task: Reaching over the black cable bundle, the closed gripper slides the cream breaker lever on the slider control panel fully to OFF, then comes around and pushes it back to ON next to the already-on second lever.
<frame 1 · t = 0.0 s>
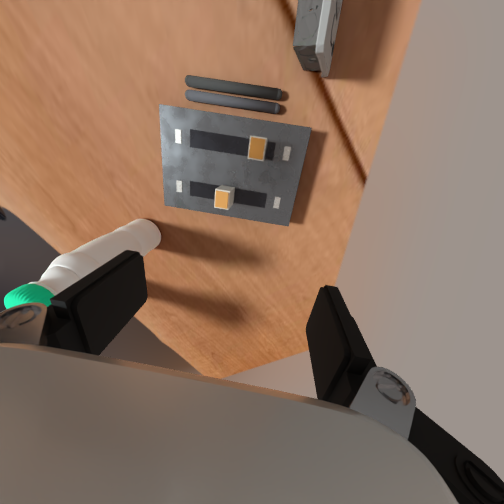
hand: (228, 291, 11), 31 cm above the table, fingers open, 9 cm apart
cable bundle: (233, 95, 32), on the table
slider control panel: (233, 169, 37), on the table
electrical switch: (315, 39, 29), on the table
water bottle: (147, 232, 45), on the table
breaker lever: (224, 197, 34), point 6 cm above the table, slide at 0.0 cm
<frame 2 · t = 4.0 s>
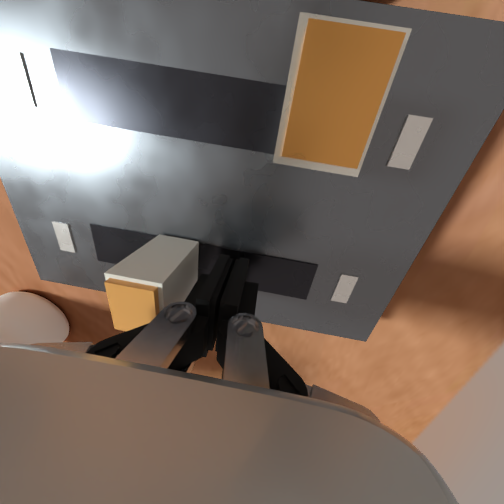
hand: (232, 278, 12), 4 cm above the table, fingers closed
slider control panel: (218, 190, 14), on the table
water bottle: (42, 313, 21), on the table
breaker lever: (160, 280, 10), point 6 cm above the table, slide at -1.4 cm, touching gripper
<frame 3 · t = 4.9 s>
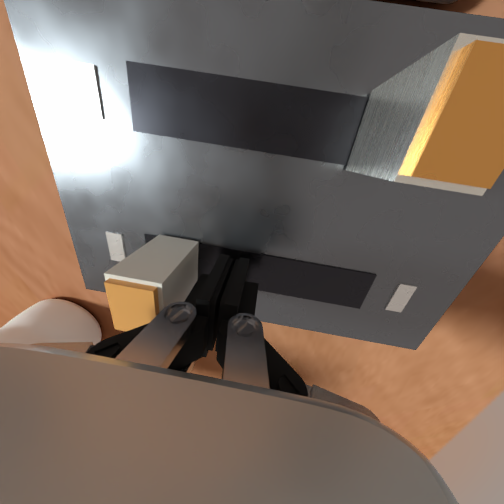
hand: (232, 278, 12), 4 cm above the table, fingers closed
slider control panel: (268, 198, 13), on the table
water bottle: (74, 320, 21), on the table
breaker lever: (160, 280, 10), point 6 cm above the table, slide at -4.8 cm, touching gripper
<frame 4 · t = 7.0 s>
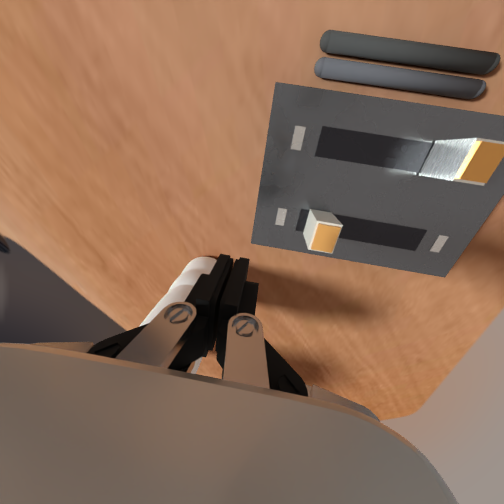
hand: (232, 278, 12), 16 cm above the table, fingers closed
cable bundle: (397, 68, 19), on the table
slider control panel: (362, 189, 24), on the table
water bottle: (209, 273, 32), on the table
breaker lever: (320, 230, 21), point 5 cm above the table, slide at -4.9 cm
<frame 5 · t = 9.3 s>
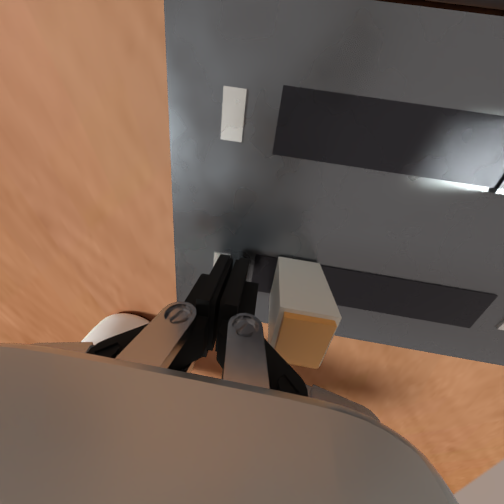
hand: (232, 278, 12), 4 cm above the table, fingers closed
slider control panel: (370, 215, 13), on the table
water bottle: (137, 333, 21), on the table
breaker lever: (296, 306, 10), point 6 cm above the table, slide at -4.5 cm, touching gripper
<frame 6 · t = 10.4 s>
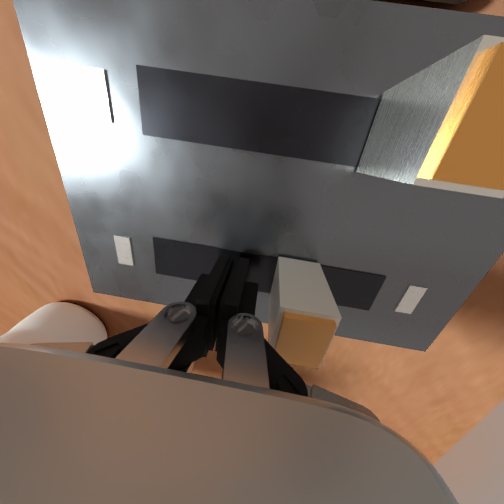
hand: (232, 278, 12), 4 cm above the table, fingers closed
slider control panel: (275, 200, 13), on the table
water bottle: (80, 323, 21), on the table
breaker lever: (296, 306, 10), point 5 cm above the table, slide at 1.8 cm, touching gripper
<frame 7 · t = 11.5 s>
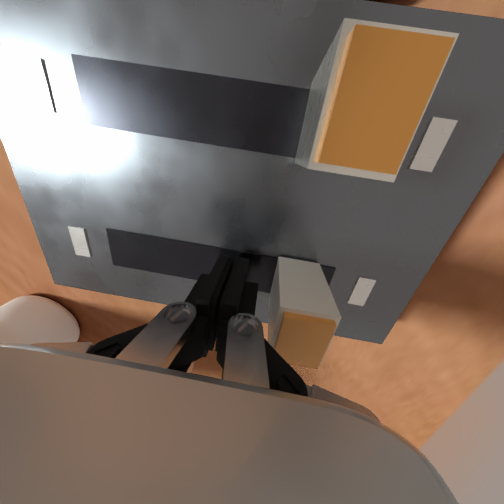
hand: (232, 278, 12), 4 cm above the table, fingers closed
slider control panel: (233, 193, 14), on the table
water bottle: (53, 317, 21), on the table
breaker lever: (296, 306, 10), point 6 cm above the table, slide at 4.8 cm, touching gripper
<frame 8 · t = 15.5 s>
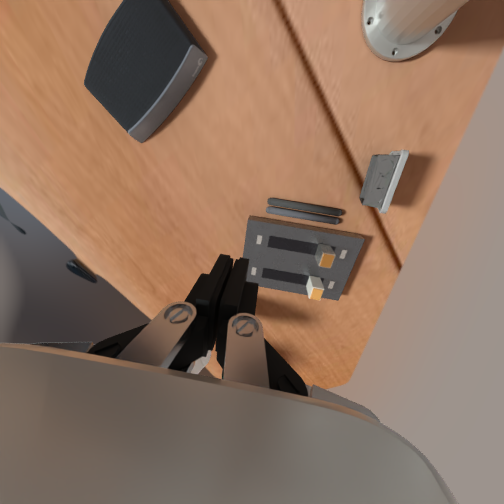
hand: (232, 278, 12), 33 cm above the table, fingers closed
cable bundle: (302, 210, 42), on the table
slider control panel: (295, 256, 47), on the table
electrical switch: (370, 179, 39), on the table
external hard drive: (149, 75, 35), on the table
breaker lever: (314, 288, 44), point 5 cm above the table, slide at 4.8 cm
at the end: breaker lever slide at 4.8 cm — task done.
